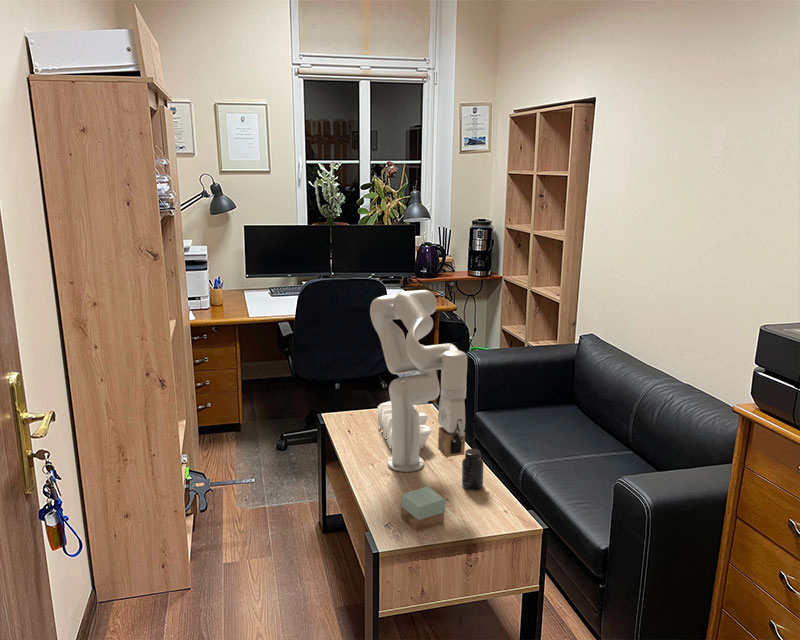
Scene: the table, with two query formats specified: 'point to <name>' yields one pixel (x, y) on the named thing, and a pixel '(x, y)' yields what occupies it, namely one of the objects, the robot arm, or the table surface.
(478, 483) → the supplement bottle
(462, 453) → the walnut block
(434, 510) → the tower top slab
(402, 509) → the tower base slab
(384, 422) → the wavy white extrusion
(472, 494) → the table surface
